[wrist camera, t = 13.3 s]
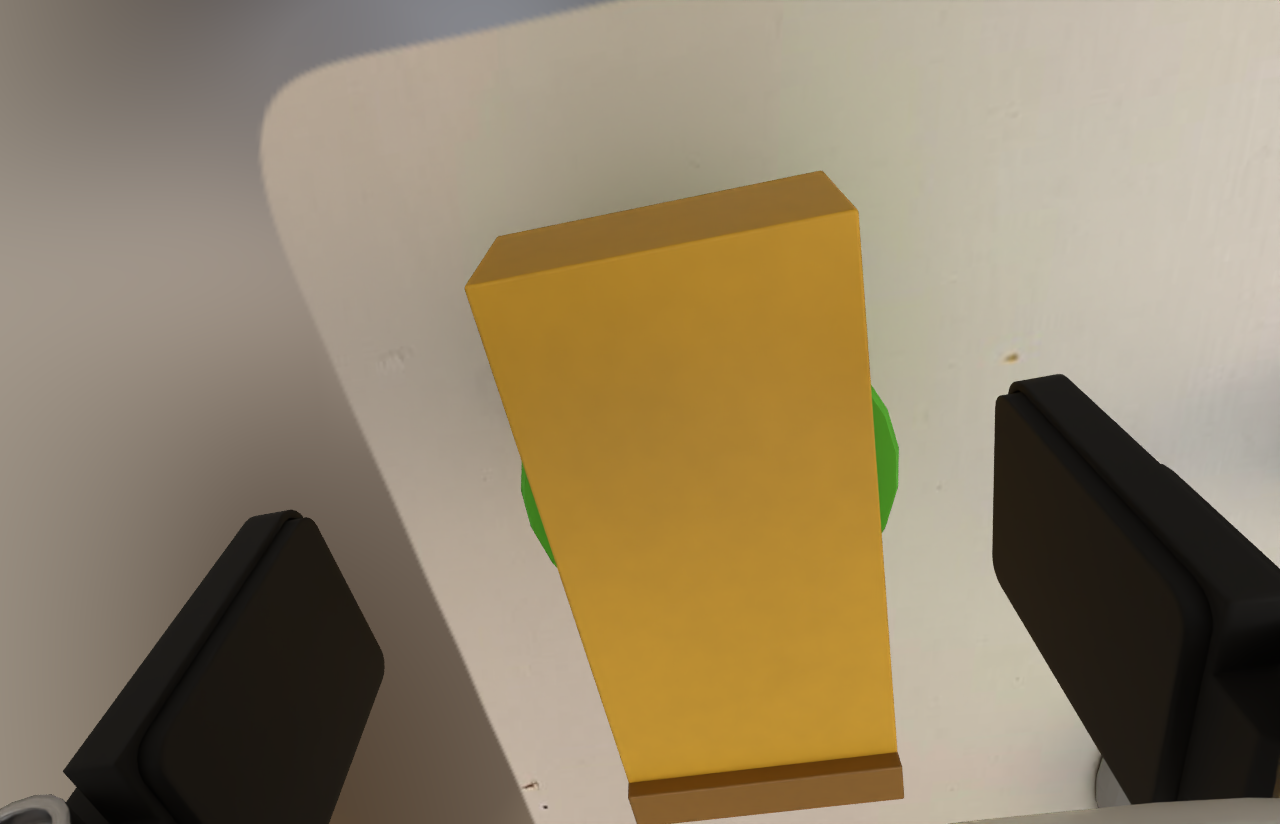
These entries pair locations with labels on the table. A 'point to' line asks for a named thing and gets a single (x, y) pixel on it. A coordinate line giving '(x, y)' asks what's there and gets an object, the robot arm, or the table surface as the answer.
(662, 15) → the table surface
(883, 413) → the cup
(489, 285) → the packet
